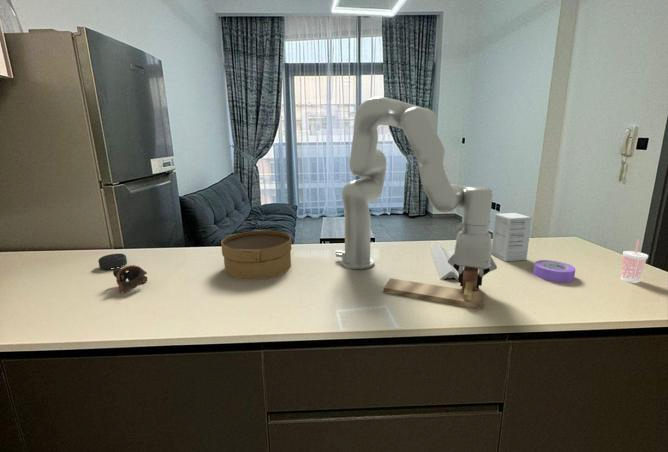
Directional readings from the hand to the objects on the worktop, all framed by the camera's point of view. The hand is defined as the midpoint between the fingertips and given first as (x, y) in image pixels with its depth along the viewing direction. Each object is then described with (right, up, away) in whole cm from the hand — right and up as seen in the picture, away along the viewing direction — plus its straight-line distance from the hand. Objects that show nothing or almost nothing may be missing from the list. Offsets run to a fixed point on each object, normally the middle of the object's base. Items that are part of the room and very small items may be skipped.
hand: (469, 285), depth 104 cm
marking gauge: (-2, -2, -4) cm, 5 cm away
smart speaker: (-126, +3, +25) cm, 129 cm away
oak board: (-13, -2, -3) cm, 13 cm away
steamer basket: (-70, +3, +22) cm, 73 cm away
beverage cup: (+54, +1, +5) cm, 55 cm away
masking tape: (+32, +1, +10) cm, 34 cm away
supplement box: (+27, +6, +28) cm, 39 cm away
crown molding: (+1, +3, +22) cm, 23 cm away
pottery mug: (-108, -2, +6) cm, 108 cm away
